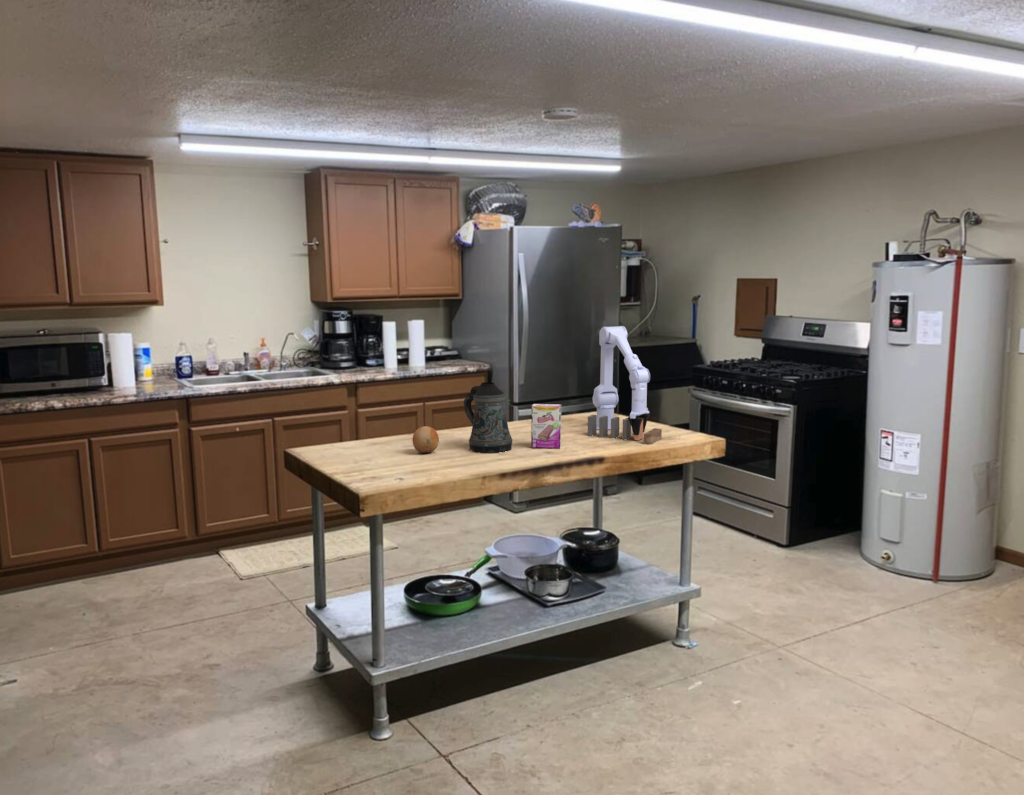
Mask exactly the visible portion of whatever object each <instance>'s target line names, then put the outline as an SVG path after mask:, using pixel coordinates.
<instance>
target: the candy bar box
mask: <svg viewBox="0 0 1024 795" xmlns="http://www.w3.org/2000/svg"><path fill="white" fill-rule="evenodd" d="M530 426H531V432H530V434H531V436H530V438H531V439H530V441H531V443H530V444H531V445H530V446H531V448H530V449H551V448H557V449H559V450H560V449H561V447H562V404H555V403H554V404H552V403H551V404H550V403H549V404H547V403H545V404H544V403H533V404H532V405H531V425H530Z"/></svg>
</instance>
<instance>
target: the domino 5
mask: <svg viewBox="0 0 1024 795" xmlns="http://www.w3.org/2000/svg"><path fill="white" fill-rule="evenodd" d="M642 439H644V433H643V420H642V422H641V426H640V432H639V435H634V441H640V440H642Z"/></svg>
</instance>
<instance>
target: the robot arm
mask: <svg viewBox="0 0 1024 795" xmlns="http://www.w3.org/2000/svg"><path fill="white" fill-rule="evenodd" d="M598 336H599V337H598V338H599V340H598V341H599V346H600V374H599V375H600V377H599V380H600V381H599V385H597V386H596V387H595V388H594V389H593V395H592V403H593V405H594V408H596V415H597V422H596V430H599V418H600V417H602V416H608V431H611V418H614V417H615V408H616V406H617V405H618V403H619V401H620V400H619V395H618V388H617V387H615V386H614V385H613V383H614V382H613V381H614V376H613V375H614V348H615V347H616V346H617V347H618V349H619V350H620V353H621V354H622V356H623V357H624V359H623V363H624V365H625V368H626V369H627V371H628V373H629V375H628V379H629V381H630V388H631V412H630V413H629V416H628V417H627V418H628V420H629V422H630V424H631V432H632V434H633V436H635V435H639V432H640V426H641V422H642V420H643V434H644V433H645V430H646V426H647V422H648V420H649V418H650V415H651V414H650V410H649V408H648V407H647V405H648V404H647V403H648V402H647V401H648V400H647V398H648V397H647V396H648V383H650V381H651V373H650V370H649V368H646V367H645V366H643V364H642V363H641V360H640V359H639V356H638V355H637V354H635V353H633V350H632V349H631V346H630V344H629V341H628V330H627V328H626V327H625V326H624V325H620V326H619V325H618V326H602V328H601V329H600V330H599V335H598Z"/></svg>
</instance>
